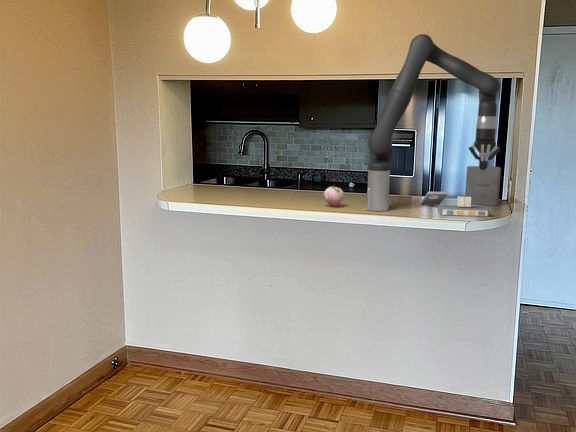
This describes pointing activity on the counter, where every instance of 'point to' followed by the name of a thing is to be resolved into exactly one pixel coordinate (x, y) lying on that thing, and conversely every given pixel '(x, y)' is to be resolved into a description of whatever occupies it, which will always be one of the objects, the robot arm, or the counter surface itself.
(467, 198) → the slider right
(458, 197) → the slider left
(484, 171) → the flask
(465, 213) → the switch unit
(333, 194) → the decorative fruit
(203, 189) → the counter surface
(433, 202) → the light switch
